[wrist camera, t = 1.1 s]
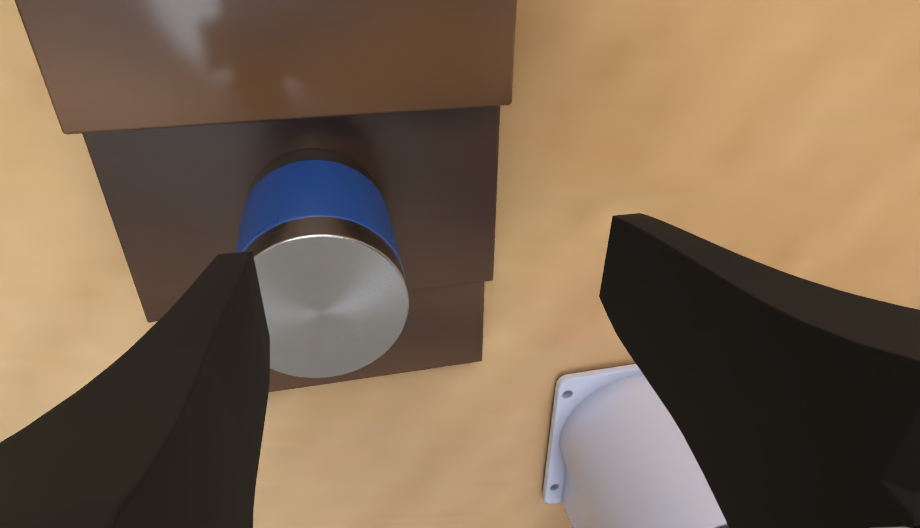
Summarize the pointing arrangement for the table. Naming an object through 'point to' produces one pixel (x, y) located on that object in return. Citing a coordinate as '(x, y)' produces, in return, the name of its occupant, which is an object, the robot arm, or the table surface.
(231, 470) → the robot arm
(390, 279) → the can
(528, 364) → the table surface
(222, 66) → the step shelf
